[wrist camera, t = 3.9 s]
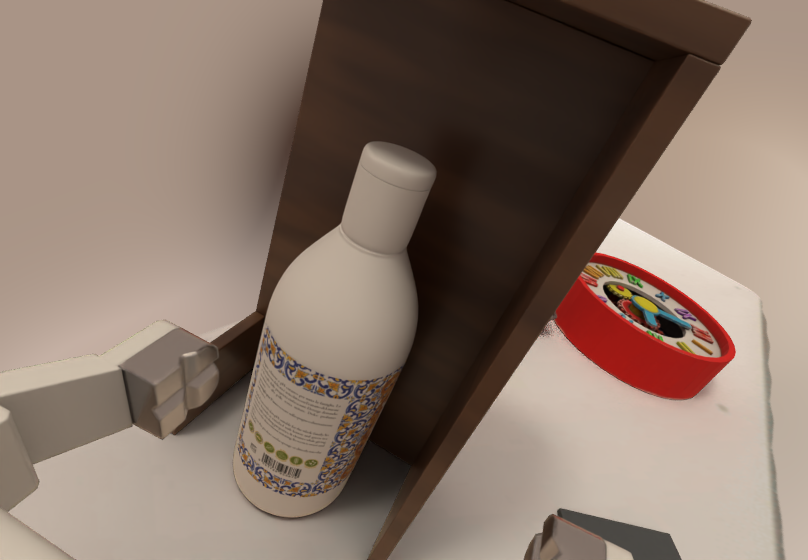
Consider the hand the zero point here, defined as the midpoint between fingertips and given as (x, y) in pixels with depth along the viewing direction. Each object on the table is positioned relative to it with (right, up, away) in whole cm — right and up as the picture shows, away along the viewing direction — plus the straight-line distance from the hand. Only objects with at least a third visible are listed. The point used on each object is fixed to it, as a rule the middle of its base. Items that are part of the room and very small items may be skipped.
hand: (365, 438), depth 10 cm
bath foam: (-6, -8, +17) cm, 20 cm away
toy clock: (+28, -4, +46) cm, 54 cm away
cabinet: (-5, -7, +18) cm, 20 cm away
